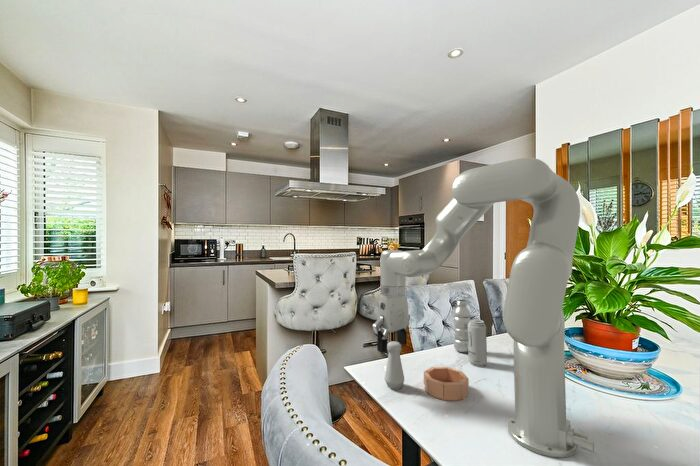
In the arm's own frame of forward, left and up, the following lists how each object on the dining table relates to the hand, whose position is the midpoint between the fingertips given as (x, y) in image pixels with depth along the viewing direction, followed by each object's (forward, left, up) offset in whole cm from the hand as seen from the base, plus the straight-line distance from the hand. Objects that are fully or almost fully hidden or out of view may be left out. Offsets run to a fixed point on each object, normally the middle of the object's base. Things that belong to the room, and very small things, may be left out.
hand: (392, 347), depth 90 cm
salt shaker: (-1, 0, -12) cm, 12 cm away
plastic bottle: (-3, -42, -12) cm, 44 cm away
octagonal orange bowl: (-13, -9, -11) cm, 19 cm away
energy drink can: (-12, -34, -12) cm, 38 cm away
